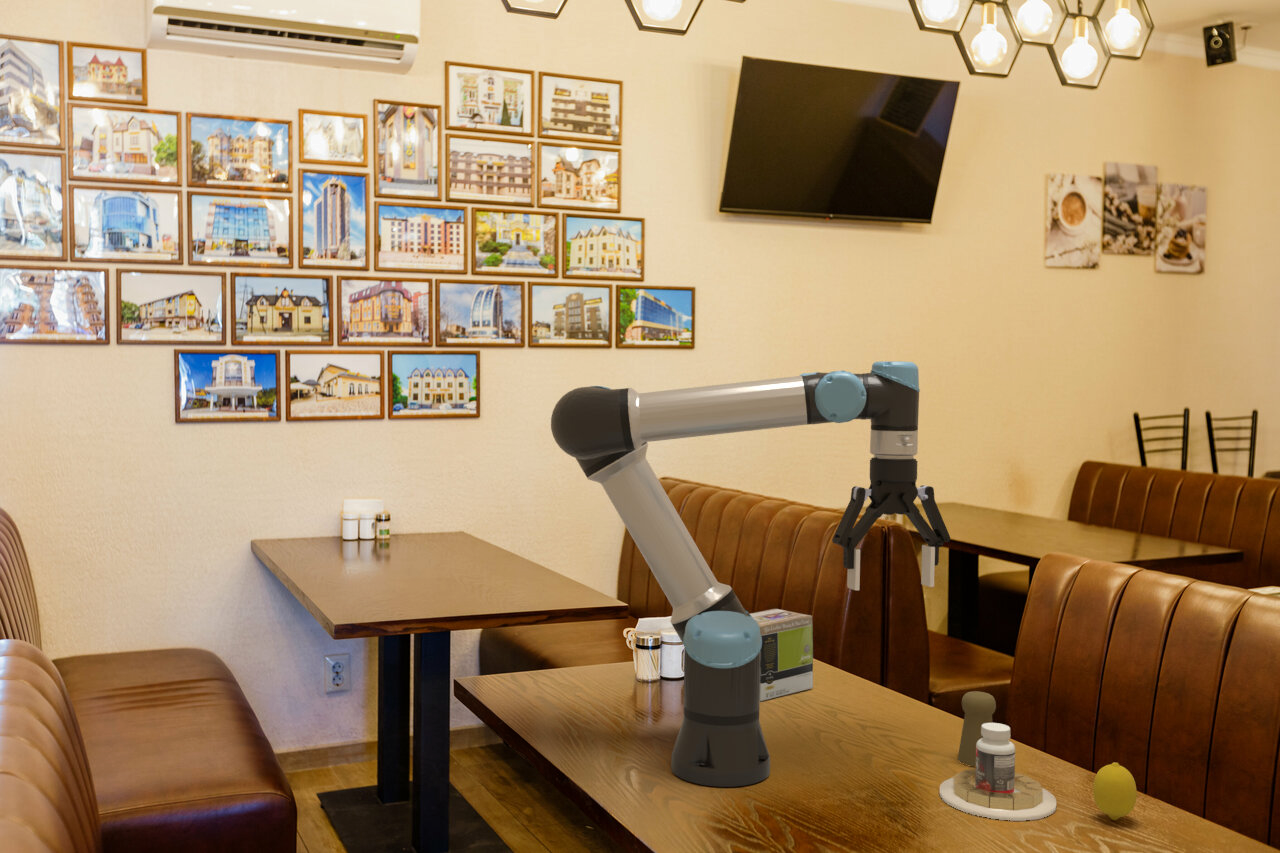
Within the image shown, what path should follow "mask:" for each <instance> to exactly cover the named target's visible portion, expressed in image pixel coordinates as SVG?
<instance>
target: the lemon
mask: <svg viewBox="0 0 1280 853" xmlns="http://www.w3.org/2000/svg"><path fill="white" fill-rule="evenodd" d="M1092 794H1093V799H1094V801H1095V805H1096V806H1097V808H1098V809H1099V810H1100V811H1101V812H1102V813H1103V814H1105V815H1107V816H1108V817H1109V818H1110V819H1111V820H1112V821H1118V819H1120V818H1121V817H1125V816H1127V815H1129V814H1130V813H1131V812H1132V811H1133V809H1134V808H1135V806H1136V802H1137V794H1138V792H1137V786H1136V781H1135V778H1134V777H1133V775H1132V773H1131V772H1130V771H1129V770H1128V769H1127V768H1126V767H1124V766H1122V765H1120V764H1119V762H1114V761H1113V762H1112V763H1111V764H1106V765H1105V766H1103V767H1101V768H1100V769H1099V770H1098V771H1097V773H1096V775H1095V777H1094V780H1093V784H1092Z"/></svg>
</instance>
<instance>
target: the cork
mask: <svg viewBox="0 0 1280 853" xmlns="http://www.w3.org/2000/svg"><path fill="white" fill-rule="evenodd" d="M961 706H962V710H963V712H964V718H963V723H962V724H963V725H962V730H961V737H960V742H959V749H958V756H957V761H958V760H959V761H960V762H961V763H964V764H967V765H970V766H976V744H977V741H978V740H979V739H981V738H983V736H982V734H981V726H982V724H984V723H994V722H993V714H994V713H995V712H996V709H997V703H996V699H995V697H994V696H993V695H992V694H990V693H988V692H984V691H976V690H974V691H968V692H966V693H964V695H963V696H962V698H961ZM959 761H958V762H959ZM960 762H959V763H960ZM961 763H960V764H961ZM970 766H969V767H970Z"/></svg>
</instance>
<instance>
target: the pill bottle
mask: <svg viewBox="0 0 1280 853" xmlns="http://www.w3.org/2000/svg"><path fill="white" fill-rule="evenodd" d="M981 734H982V736H983V738H981V739H979V740H978V741H977V744H976V768H975V769H976V778H975V787H976V788H979V789H982V790H986V791H990V792H997V793H1014V783H1015V773H1016V746H1015V744H1014V743H1013V742H1011V741H1010V739H1011V727H1010V726H1009V725H1007V724H1003V723H999V722H998V723H997V722H993V723H984V724H982V726H981Z"/></svg>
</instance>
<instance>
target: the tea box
mask: <svg viewBox="0 0 1280 853" xmlns="http://www.w3.org/2000/svg"><path fill="white" fill-rule="evenodd" d="M749 614H750V615H751V616H752V617H753V619H754V620H755V621H756V622H757V623H758V624H759V627H760V633H761V637H762V647H761V652H760V702H763V701H767V700H771V699H775V698H780V697H783V696H788V695H792V694H794V693H798V692H799V693H800V692H802V691H806V690H811V689H813V688H814V670H813V669H814V668H813V667H814V649H813V648H814V642H813V640H814V639H813V638H814V637H813V636H814V634H813V632H814V630H813V627H814V626H813V615H811V614H807V613H806V614H804V613H799V612H794V611H790V610H789V611H788V610H784V609H779V608H771V609H766V610H762V611H756V612H751V613H749Z"/></svg>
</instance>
